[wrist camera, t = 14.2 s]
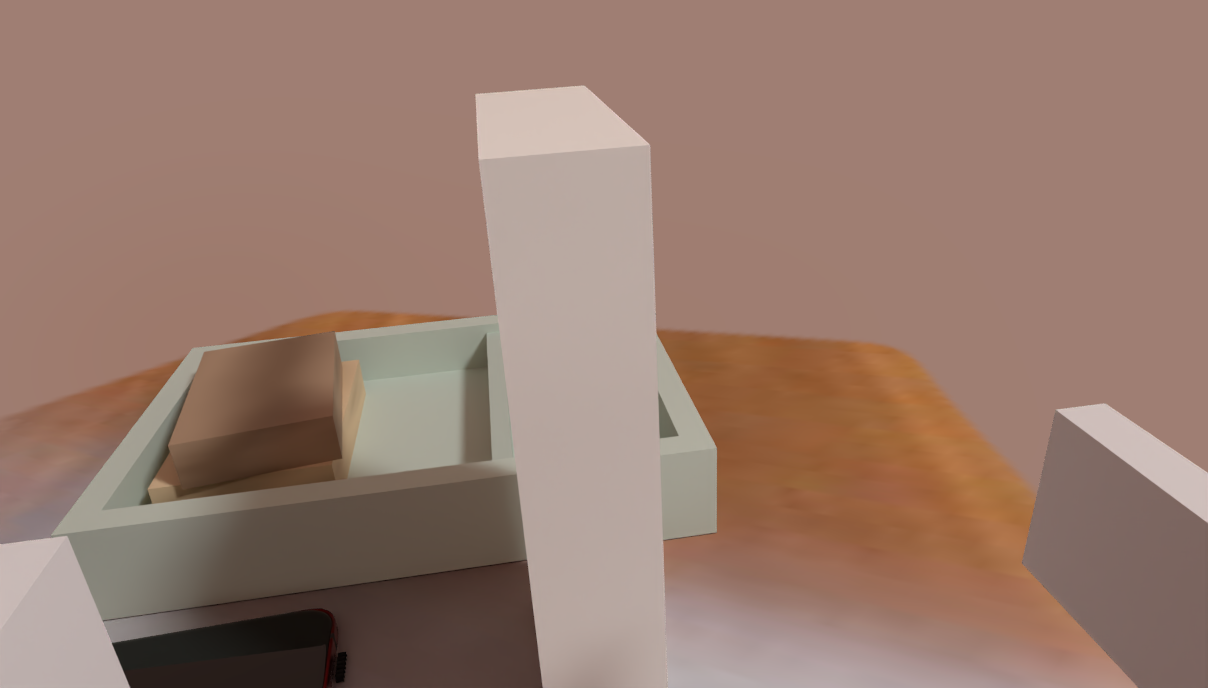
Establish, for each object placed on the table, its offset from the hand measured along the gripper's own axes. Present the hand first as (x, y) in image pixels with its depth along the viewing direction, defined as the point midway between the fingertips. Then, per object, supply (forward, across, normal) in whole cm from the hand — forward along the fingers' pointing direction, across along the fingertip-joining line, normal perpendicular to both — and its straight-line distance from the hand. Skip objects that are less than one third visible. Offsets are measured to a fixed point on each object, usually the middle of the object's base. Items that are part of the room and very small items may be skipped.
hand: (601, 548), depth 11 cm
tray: (+25, -5, -14) cm, 29 cm away
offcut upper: (+24, -12, -10) cm, 29 cm away
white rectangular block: (+10, 0, -14) cm, 17 cm away
